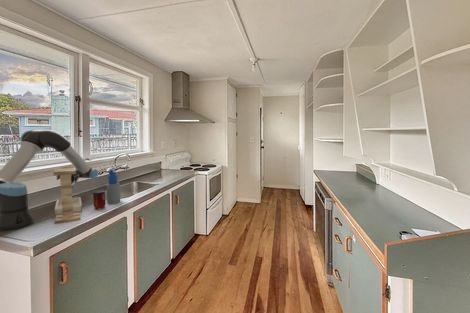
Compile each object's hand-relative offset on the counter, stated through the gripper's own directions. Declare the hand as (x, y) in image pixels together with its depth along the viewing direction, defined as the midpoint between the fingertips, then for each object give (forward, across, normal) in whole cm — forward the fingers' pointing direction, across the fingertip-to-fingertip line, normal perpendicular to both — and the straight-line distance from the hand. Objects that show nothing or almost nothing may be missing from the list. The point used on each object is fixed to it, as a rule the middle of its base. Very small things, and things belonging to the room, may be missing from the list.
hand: (66, 168), depth 151 cm
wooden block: (-2, 0, -4) cm, 4 cm away
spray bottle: (-15, -27, -24) cm, 39 cm away
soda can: (-7, -17, -29) cm, 34 cm away
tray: (-15, 0, -24) cm, 28 cm away
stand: (+5, 0, -35) cm, 35 cm away
